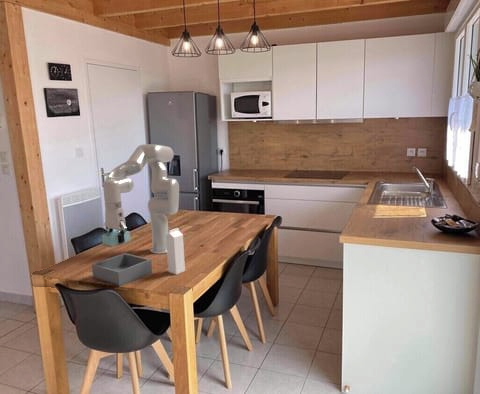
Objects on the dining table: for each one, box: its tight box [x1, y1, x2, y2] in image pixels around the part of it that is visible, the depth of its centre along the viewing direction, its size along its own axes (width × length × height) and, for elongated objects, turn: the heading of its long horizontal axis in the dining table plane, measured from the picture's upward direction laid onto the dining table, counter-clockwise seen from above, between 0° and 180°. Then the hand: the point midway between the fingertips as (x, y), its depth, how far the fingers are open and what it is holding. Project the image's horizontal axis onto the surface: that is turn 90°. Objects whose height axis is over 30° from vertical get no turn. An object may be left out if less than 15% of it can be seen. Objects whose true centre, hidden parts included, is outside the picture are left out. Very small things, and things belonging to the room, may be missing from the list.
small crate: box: [101, 230, 131, 248], centre depth 204 cm, size 11×7×5 cm, turn 143°
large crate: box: [91, 252, 153, 288], centre depth 206 cm, size 20×20×7 cm
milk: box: [166, 227, 186, 275], centre depth 208 cm, size 6×6×22 cm
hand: (116, 241), depth 204 cm, fingers closed on small crate, 7 cm apart
